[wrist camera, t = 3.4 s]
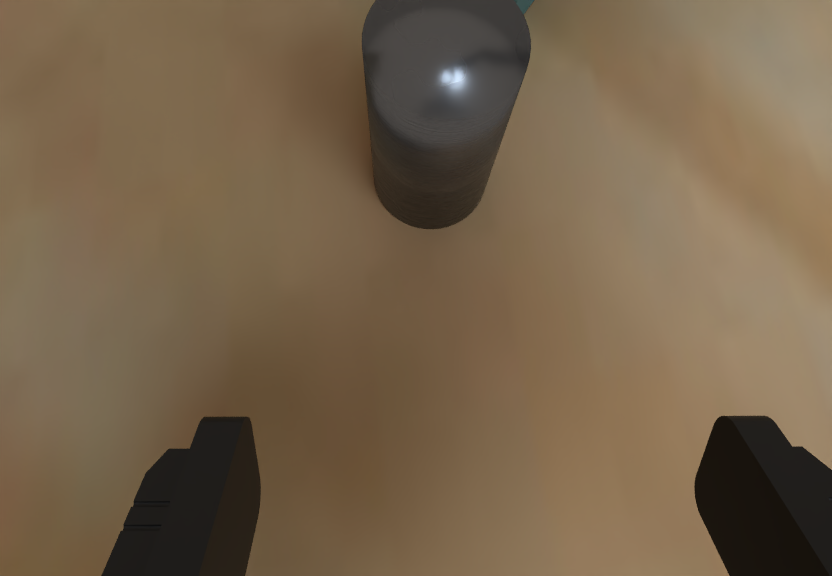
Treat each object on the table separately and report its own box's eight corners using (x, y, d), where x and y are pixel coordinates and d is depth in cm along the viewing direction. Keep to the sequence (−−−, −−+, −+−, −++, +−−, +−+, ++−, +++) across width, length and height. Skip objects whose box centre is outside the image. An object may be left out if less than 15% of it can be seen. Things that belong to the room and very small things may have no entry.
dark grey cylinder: (507, 163, 29) (562, 24, 19) (445, 250, 28) (470, 150, 18) (415, 104, 30) (424, -60, 20) (351, 188, 29) (327, 58, 19)
